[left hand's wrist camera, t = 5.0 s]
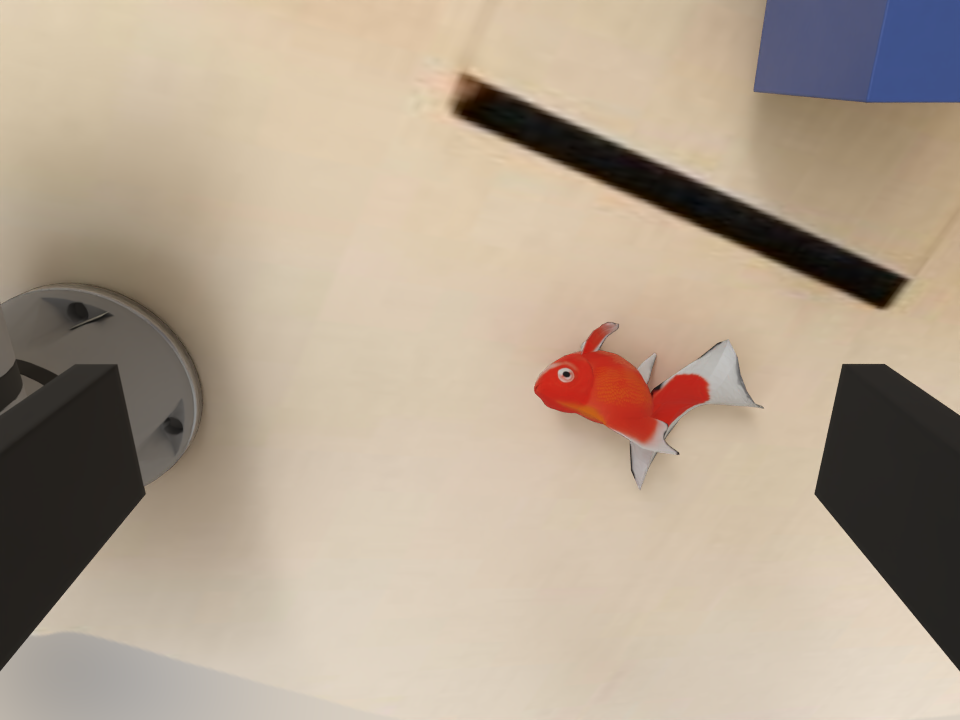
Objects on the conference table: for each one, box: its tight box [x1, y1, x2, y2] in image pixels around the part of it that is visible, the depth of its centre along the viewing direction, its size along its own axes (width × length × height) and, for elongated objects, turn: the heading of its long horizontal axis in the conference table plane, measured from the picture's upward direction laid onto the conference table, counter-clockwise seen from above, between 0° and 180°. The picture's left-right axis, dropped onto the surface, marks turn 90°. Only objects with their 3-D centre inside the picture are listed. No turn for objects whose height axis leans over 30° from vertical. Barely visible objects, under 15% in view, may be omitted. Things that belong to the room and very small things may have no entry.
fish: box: [534, 322, 764, 490], centre depth 44 cm, size 11×16×10 cm
